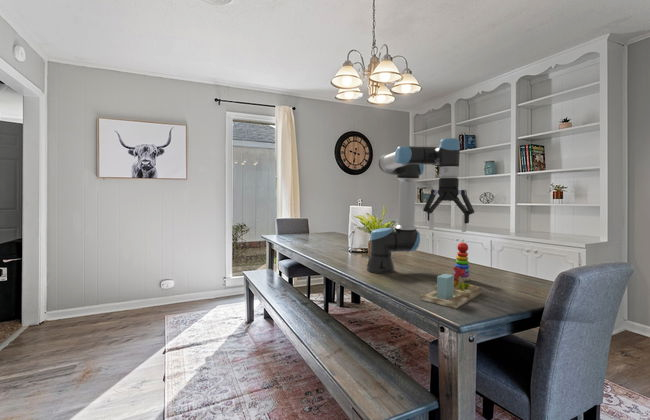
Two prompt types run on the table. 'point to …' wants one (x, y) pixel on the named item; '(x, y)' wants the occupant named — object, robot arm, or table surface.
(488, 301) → the table surface
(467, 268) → the stacking toy
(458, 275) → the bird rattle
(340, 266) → the table surface
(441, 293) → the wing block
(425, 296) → the jig
